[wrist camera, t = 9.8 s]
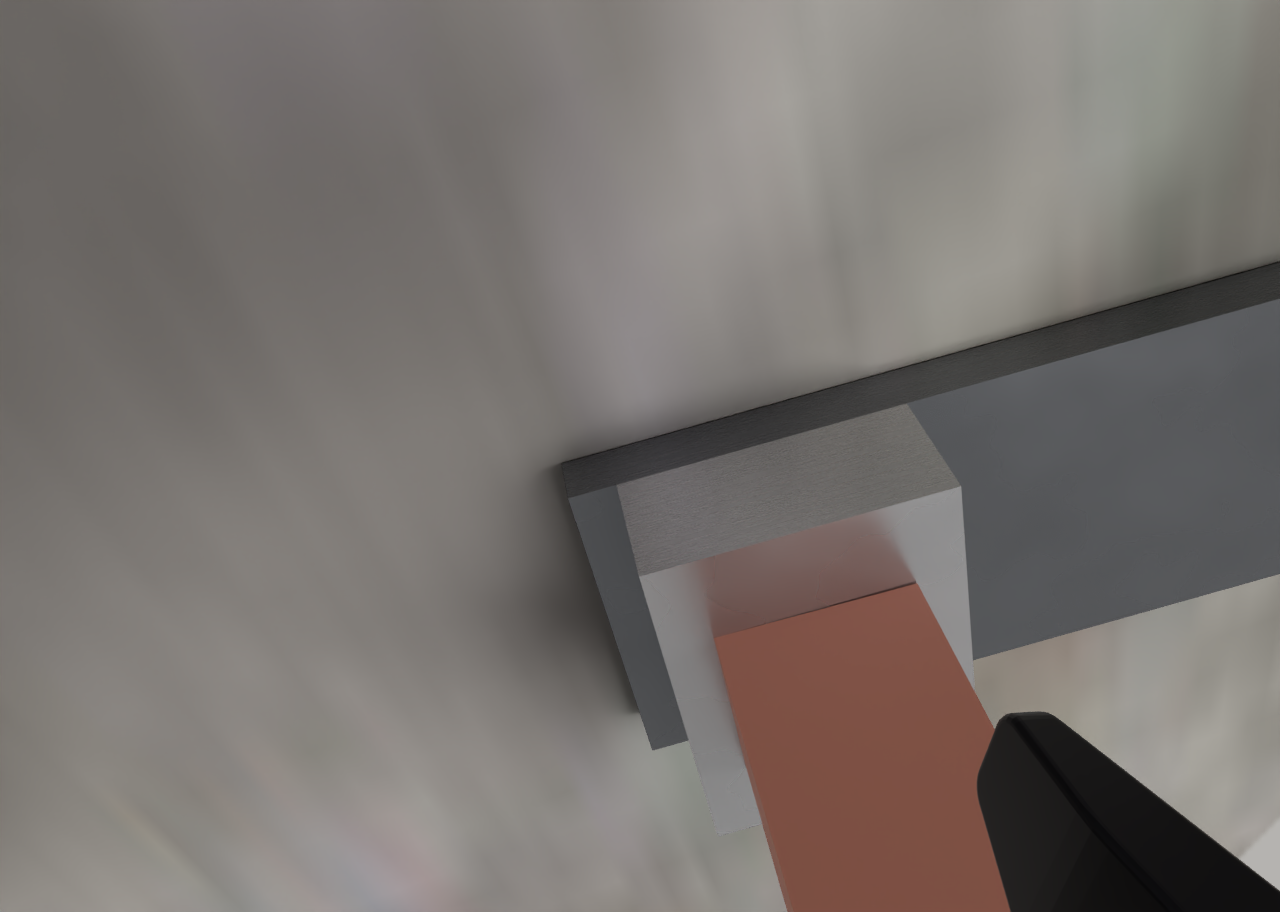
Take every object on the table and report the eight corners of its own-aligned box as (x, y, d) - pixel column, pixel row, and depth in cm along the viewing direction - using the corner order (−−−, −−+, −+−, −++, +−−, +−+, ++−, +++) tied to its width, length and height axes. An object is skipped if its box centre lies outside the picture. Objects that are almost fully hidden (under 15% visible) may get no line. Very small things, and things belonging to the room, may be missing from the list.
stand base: (644, 712, 28) (674, 849, 25) (561, 464, 24) (585, 591, 21) (1263, 539, 29) (1371, 652, 25) (1303, 255, 24) (1442, 350, 21)
